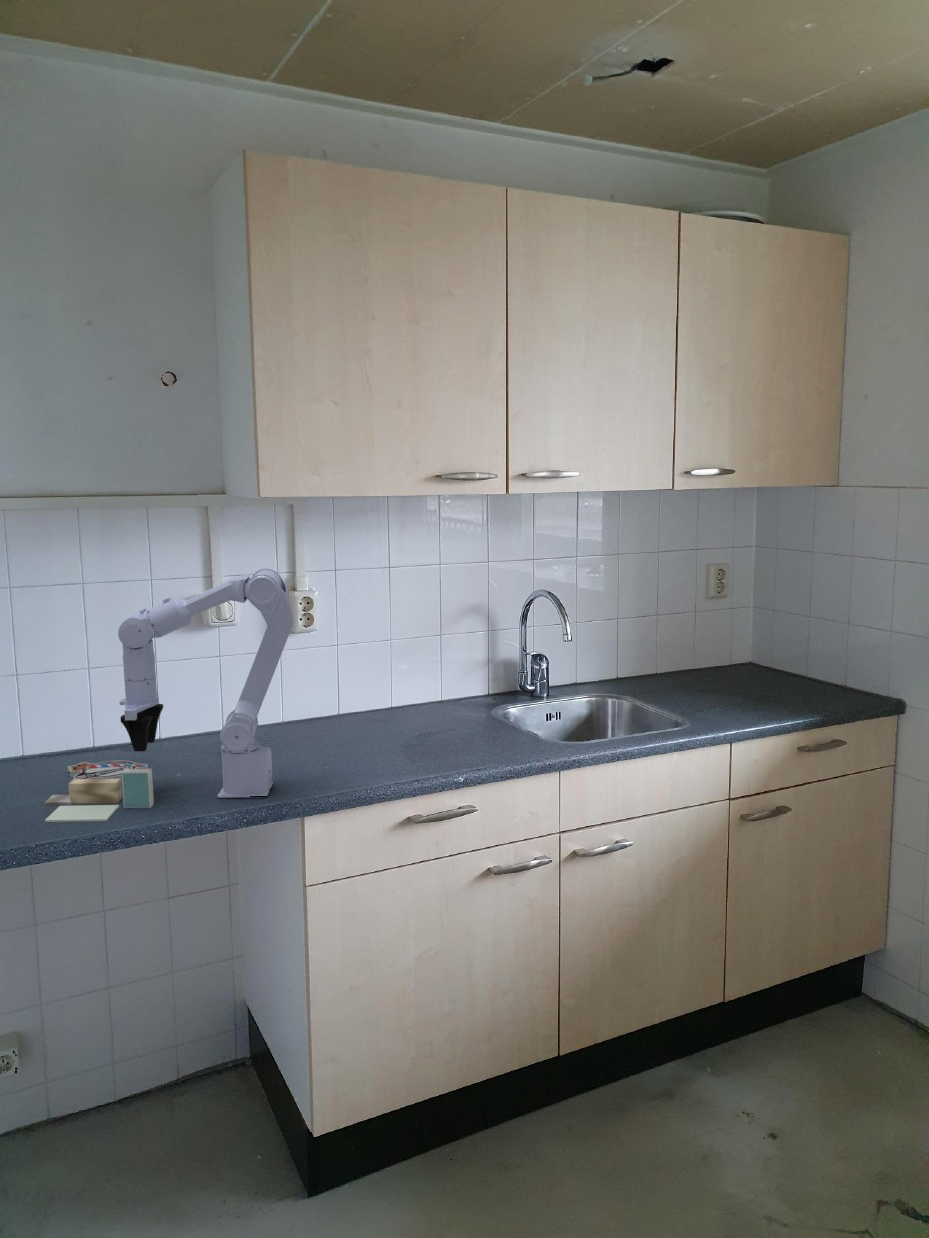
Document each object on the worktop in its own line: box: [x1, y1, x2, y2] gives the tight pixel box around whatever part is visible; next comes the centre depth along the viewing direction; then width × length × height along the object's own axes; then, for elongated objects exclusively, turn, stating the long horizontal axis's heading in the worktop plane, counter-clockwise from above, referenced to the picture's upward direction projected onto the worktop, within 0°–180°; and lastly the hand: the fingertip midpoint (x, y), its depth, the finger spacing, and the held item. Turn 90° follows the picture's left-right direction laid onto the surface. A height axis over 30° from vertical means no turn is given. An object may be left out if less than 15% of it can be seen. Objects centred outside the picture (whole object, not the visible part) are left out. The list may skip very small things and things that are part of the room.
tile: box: [121, 768, 155, 809], centre depth 175 cm, size 5×2×7 cm, turn 92°
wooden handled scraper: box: [43, 779, 123, 806], centre depth 178 cm, size 14×4×4 cm, turn 92°
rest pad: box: [44, 804, 120, 823], centre depth 172 cm, size 11×7×1 cm, turn 92°
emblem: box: [66, 759, 149, 782], centre depth 194 cm, size 12×2×15 cm
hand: (144, 746), depth 180 cm, fingers open, 5 cm apart
